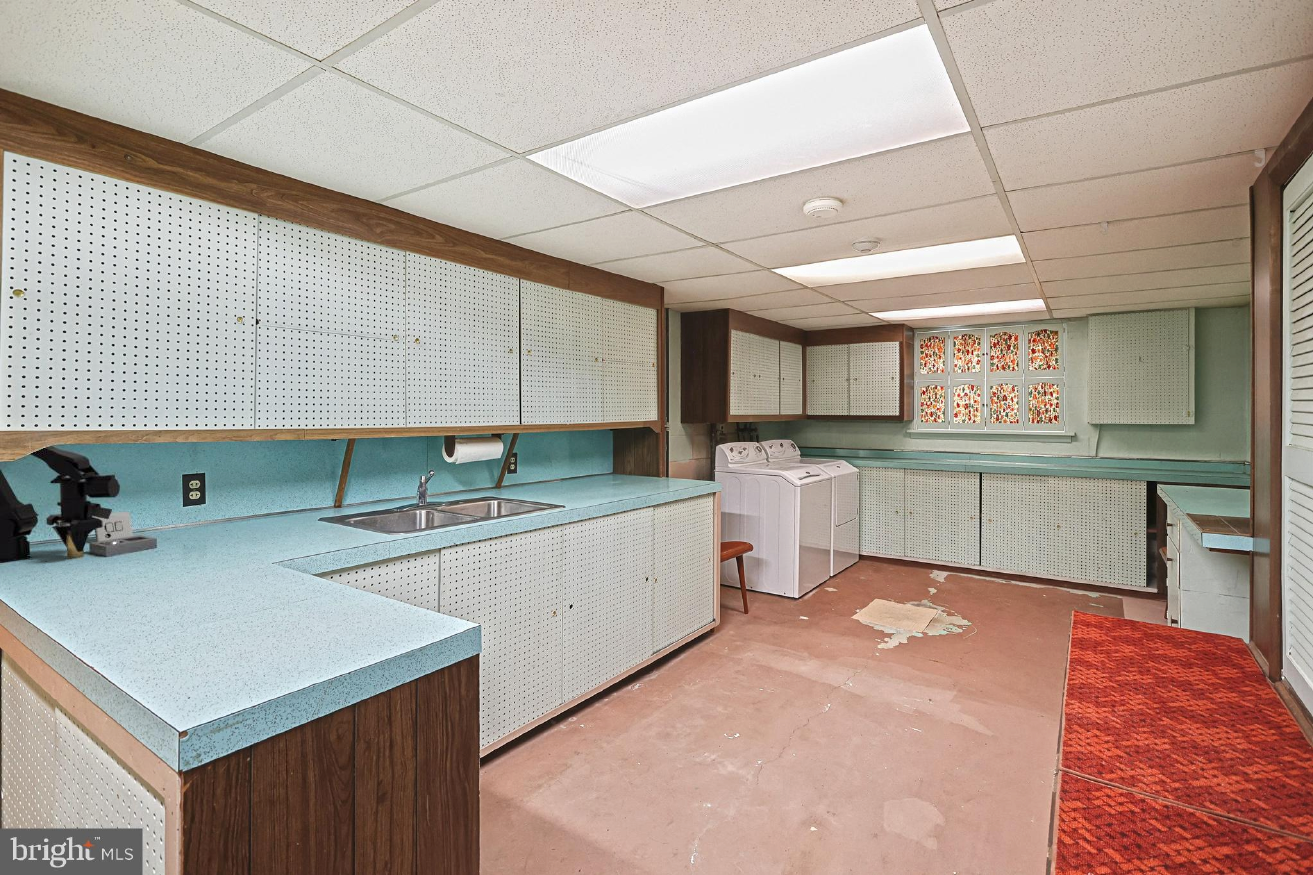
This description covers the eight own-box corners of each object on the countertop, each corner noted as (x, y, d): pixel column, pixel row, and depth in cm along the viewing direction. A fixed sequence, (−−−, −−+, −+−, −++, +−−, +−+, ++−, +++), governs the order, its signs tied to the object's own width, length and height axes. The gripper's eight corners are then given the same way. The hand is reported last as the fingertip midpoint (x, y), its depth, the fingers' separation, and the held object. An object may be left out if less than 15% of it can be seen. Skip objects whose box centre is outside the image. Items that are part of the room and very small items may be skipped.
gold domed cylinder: (70, 559, 180) (70, 535, 180) (64, 557, 182) (63, 534, 182) (86, 556, 184) (85, 533, 183) (80, 555, 185) (79, 532, 185)
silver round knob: (107, 554, 187) (107, 543, 187) (101, 553, 188) (101, 541, 188) (122, 552, 190) (122, 540, 190) (116, 550, 192) (115, 539, 191)
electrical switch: (98, 544, 199) (96, 515, 199) (91, 543, 202) (89, 515, 202) (133, 538, 208) (131, 511, 208) (126, 538, 210) (124, 511, 210)
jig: (106, 556, 184) (106, 546, 184) (89, 552, 188) (89, 542, 188) (157, 547, 196) (156, 538, 195) (140, 544, 200) (139, 535, 200)
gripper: (123, 497, 185) (124, 548, 186) (91, 492, 193) (93, 541, 194) (76, 502, 175) (77, 556, 176) (44, 496, 183) (46, 548, 184)
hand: (75, 550), depth 183 cm, fingers open, 5 cm apart
